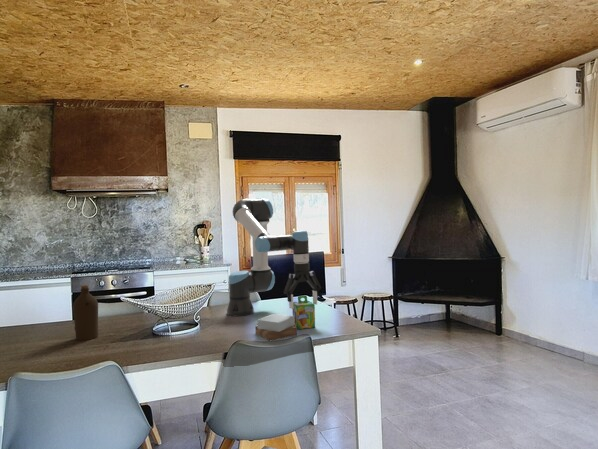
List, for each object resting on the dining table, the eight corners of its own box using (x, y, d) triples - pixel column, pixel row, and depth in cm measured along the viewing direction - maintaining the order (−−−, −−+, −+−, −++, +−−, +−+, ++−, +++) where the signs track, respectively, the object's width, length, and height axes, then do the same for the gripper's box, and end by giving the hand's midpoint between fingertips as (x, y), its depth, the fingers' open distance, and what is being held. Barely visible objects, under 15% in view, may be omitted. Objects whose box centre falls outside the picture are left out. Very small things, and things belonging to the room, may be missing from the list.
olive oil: (104, 335, 193) (102, 283, 192) (85, 342, 183) (82, 287, 183) (89, 333, 197) (86, 283, 197) (69, 340, 188) (66, 286, 187)
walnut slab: (255, 334, 186) (255, 326, 186) (282, 329, 194) (281, 321, 194) (269, 342, 174) (268, 333, 174) (296, 336, 182) (296, 327, 182)
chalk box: (297, 329, 190) (296, 298, 189) (292, 325, 198) (291, 295, 198) (316, 327, 192) (314, 297, 192) (310, 323, 201) (308, 293, 201)
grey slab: (257, 328, 182) (257, 319, 182) (273, 322, 192) (273, 313, 192) (279, 331, 176) (278, 322, 176) (294, 324, 186) (293, 316, 186)
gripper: (282, 265, 185) (284, 311, 185) (326, 260, 198) (328, 303, 198) (275, 264, 191) (277, 308, 192) (318, 259, 204) (320, 301, 205)
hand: (303, 306), depth 195 cm, fingers open, 13 cm apart
